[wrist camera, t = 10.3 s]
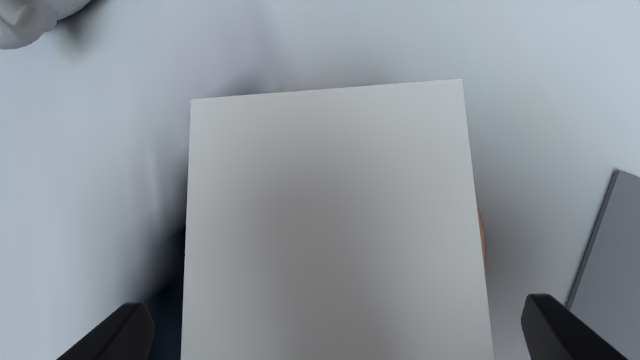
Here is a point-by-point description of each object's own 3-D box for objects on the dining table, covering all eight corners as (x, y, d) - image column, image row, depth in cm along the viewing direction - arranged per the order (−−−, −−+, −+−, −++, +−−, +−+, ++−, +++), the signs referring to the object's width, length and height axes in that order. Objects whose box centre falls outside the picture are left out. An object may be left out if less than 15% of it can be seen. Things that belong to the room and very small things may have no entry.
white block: (430, 322, 17) (497, 385, 9) (268, 324, 18) (179, 384, 9) (416, 162, 19) (461, 78, 10) (267, 171, 20) (191, 99, 11)
